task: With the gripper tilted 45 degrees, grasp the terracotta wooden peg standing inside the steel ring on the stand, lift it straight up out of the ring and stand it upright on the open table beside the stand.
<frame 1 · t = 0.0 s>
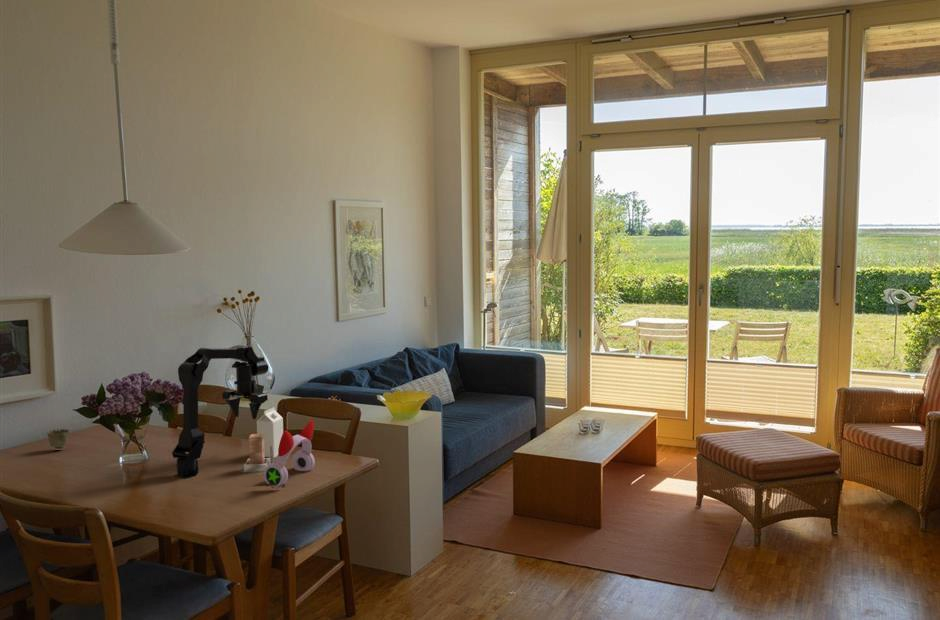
hand: (245, 418, 297), 15 cm above the table, tool pointing down, fingers open, 9 cm apart
headphones: (292, 481, 267), on the table
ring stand: (257, 472, 276), on the table
cup: (59, 451, 307), on the table
peg: (257, 468, 276), point 1 cm above the table, touching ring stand
milk carton: (271, 458, 294), on the table
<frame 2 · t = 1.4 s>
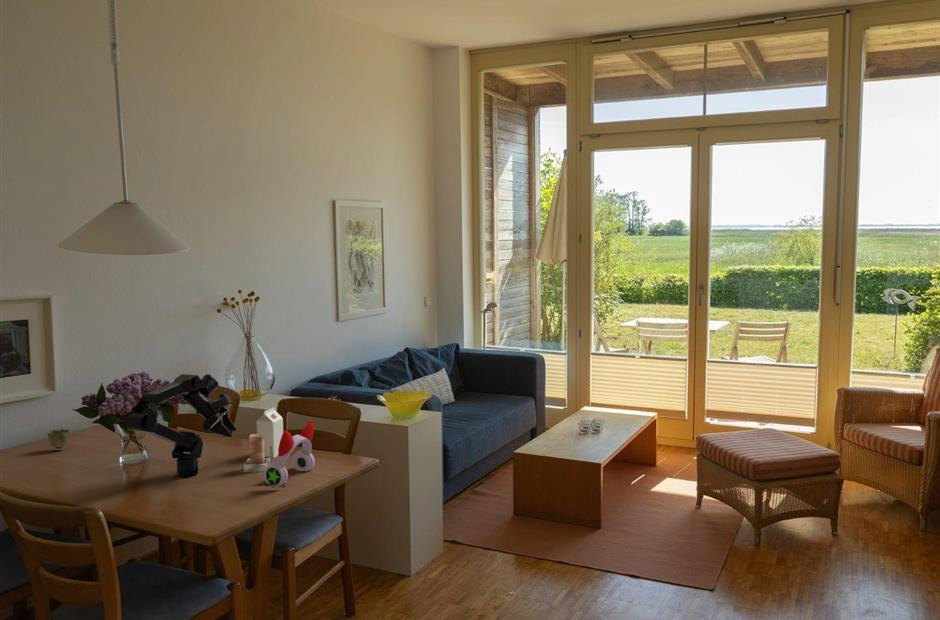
hand: (233, 433, 279), 13 cm above the table, tool tilted 45°, fingers open, 9 cm apart
nothing on the table moved.
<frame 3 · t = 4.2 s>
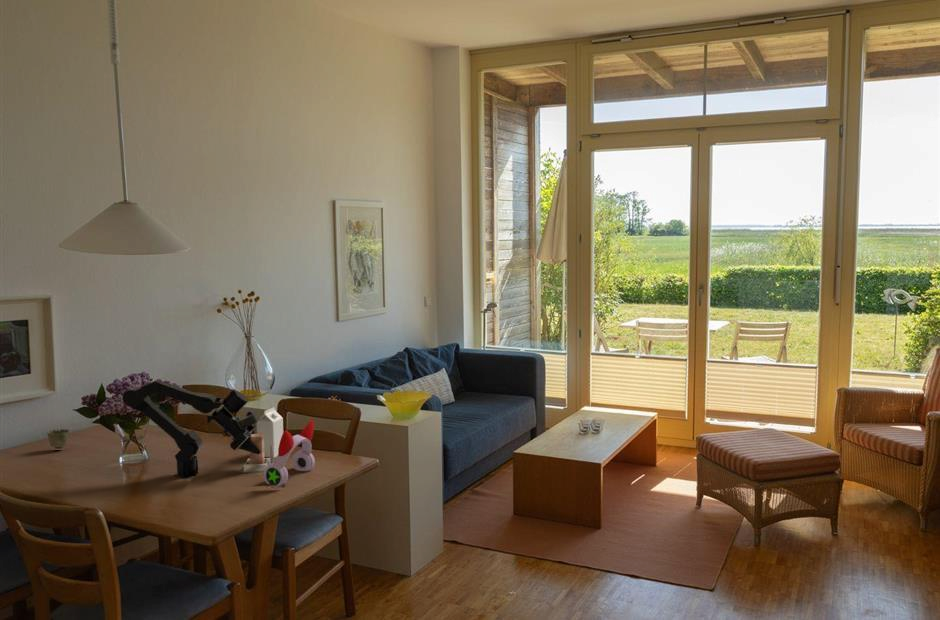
hand: (260, 451, 275), 8 cm above the table, tool tilted 45°, fingers closed on peg, 4 cm apart
peg: (257, 468, 276), point 1 cm above the table, touching gripper, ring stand
everything else where it was.
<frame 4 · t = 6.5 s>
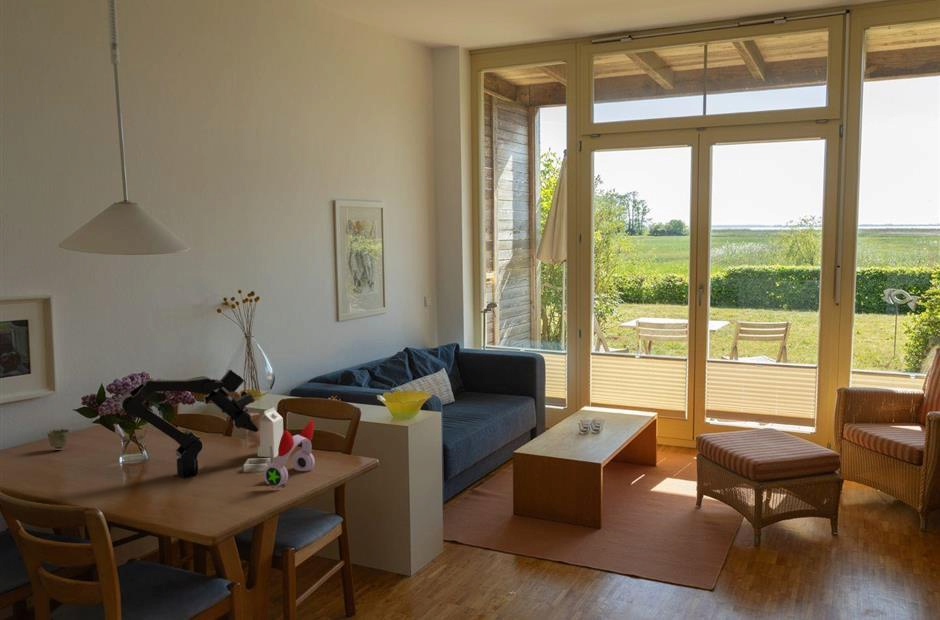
hand: (256, 429, 284), 13 cm above the table, tool tilted 45°, fingers closed on peg, 4 cm apart
peg: (253, 446, 284), point 7 cm above the table, touching gripper
everything else where it was.
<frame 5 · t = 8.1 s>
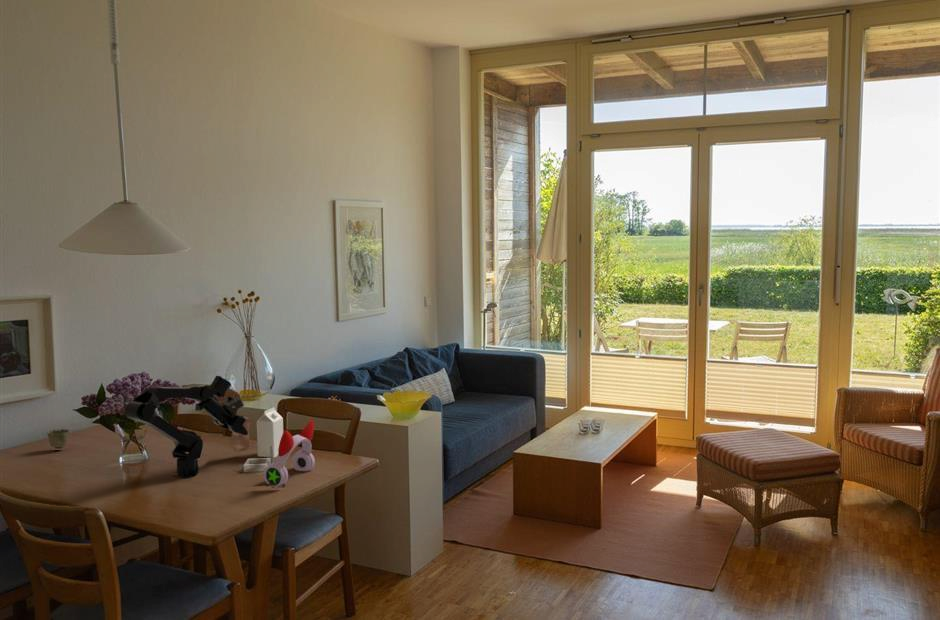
hand: (244, 433, 291), 10 cm above the table, tool tilted 45°, fingers closed on peg, 4 cm apart
peg: (241, 449, 290), point 4 cm above the table, touching gripper
everything else where it was.
when the fingers open (7 cm above the table, at t = 9.1 s): peg drops 1 cm, on the table.
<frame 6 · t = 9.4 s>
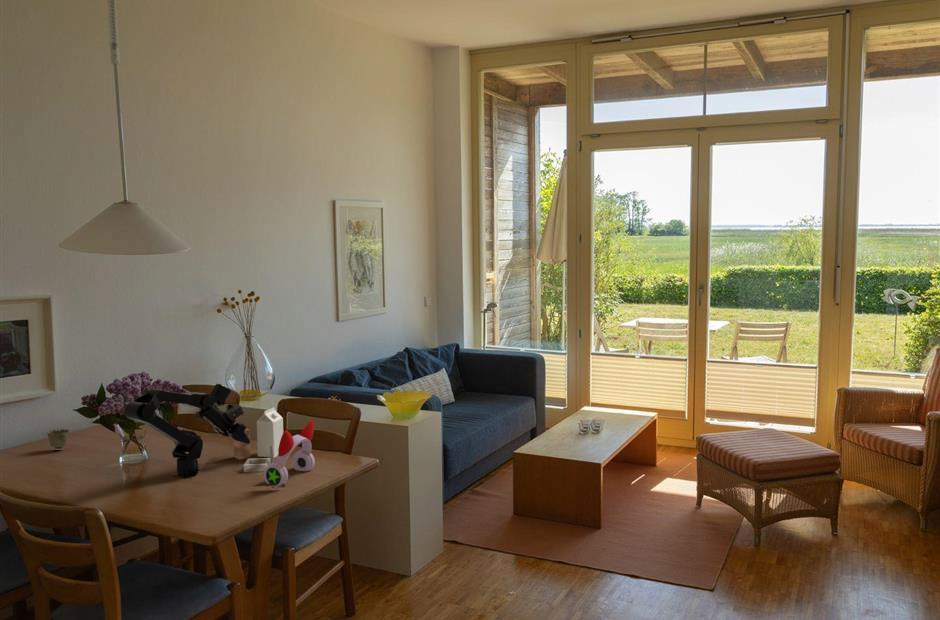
hand: (244, 440, 291), 8 cm above the table, tool tilted 45°, fingers open, 8 cm apart
peg: (242, 460, 291), on the table
everything else where it was.
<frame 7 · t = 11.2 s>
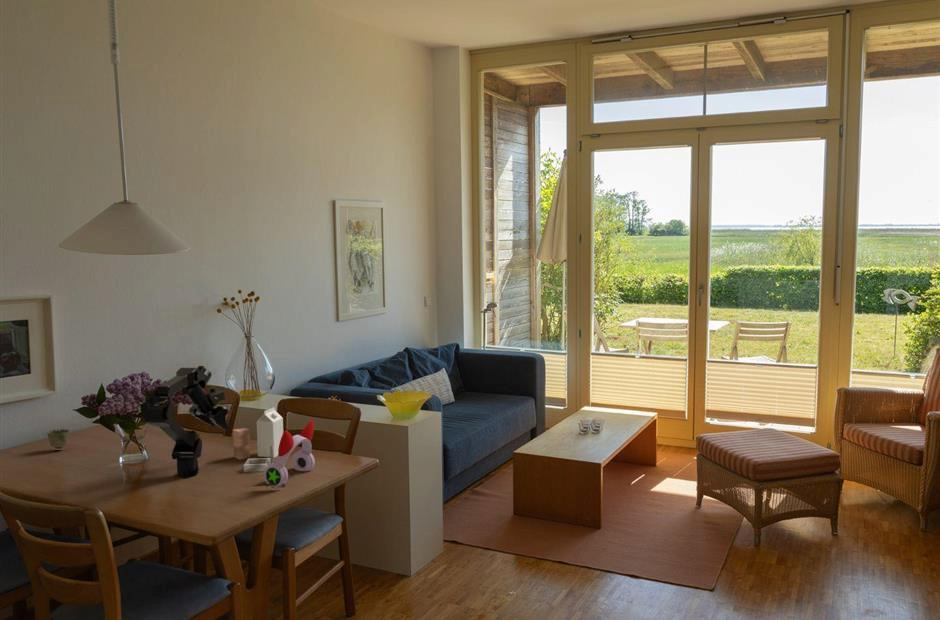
hand: (220, 427, 287), 13 cm above the table, tool tilted 35°, fingers open, 9 cm apart
nothing on the table moved.
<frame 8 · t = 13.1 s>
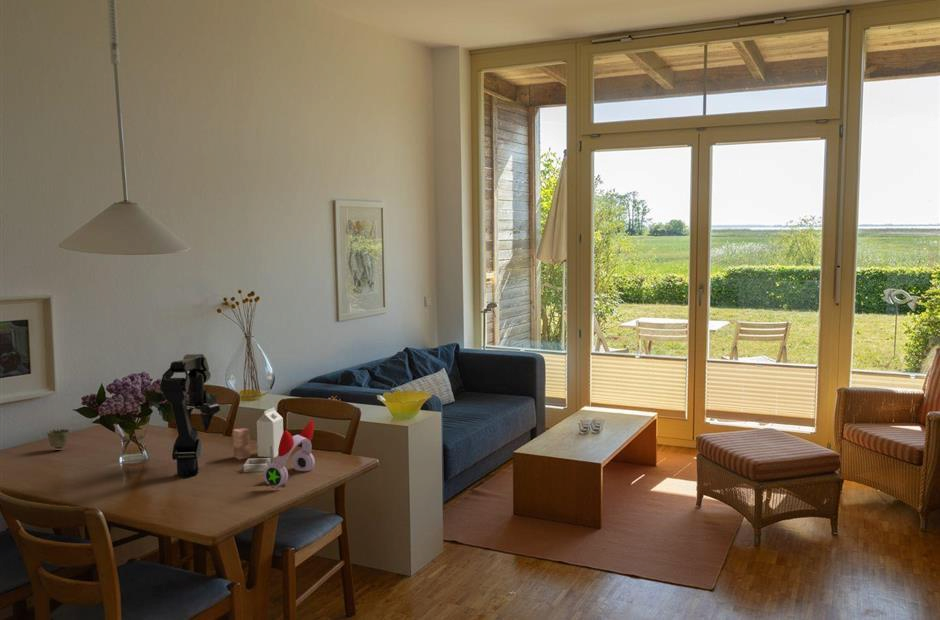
hand: (197, 429, 287), 13 cm above the table, tool pointing down, fingers open, 9 cm apart
nothing on the table moved.
at the end: peg inside the target area (0.1 cm from its centre), on the table; peg tilted 0°; the gripper is holding nothing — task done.
